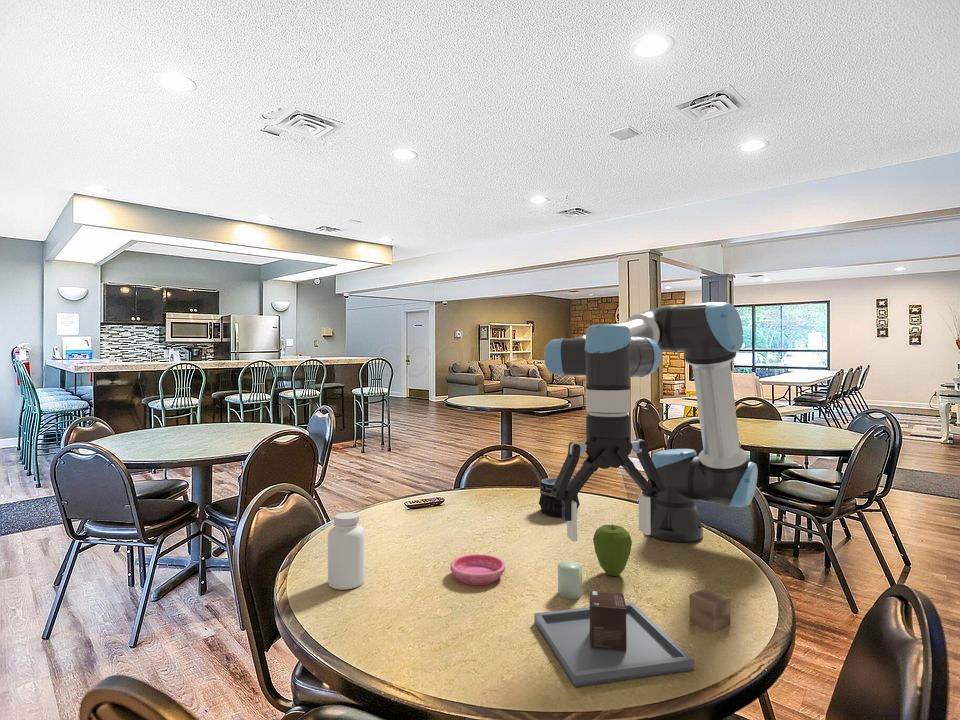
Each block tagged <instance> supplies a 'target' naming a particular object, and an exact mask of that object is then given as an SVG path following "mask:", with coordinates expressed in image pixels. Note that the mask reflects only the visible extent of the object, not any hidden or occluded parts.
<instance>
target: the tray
mask: <svg viewBox="0 0 960 720" xmlns="http://www.w3.org/2000/svg"><path fill="white" fill-rule="evenodd" d="M625 604H626V634H627V650H626V651H620V650H609V649H596V648H591V645H590V606H587V607H586V606H585V607H578V608H570V609H562V610H561V609H560V610H552V611H543V612H542V611H541V612H534V617H533V618H534V624H535V626H536V628H537V630H538V631H539V632H540V634H541V636H542V638H543V639H544V640H546V641H545V642H546V644H547V645H548V647H549V649H550V648H551V649H550V650H551V652H552V653H553V654H554V655H553V656H555V658H556V660H557V661H558V662H559V665H560V667H562V669H563V671H564V672H565V674H566V676H567V677H568V679H569V680H570V682H571V684H572V685H573V687H574V688H582V687H589V686H596V685H603V684H611V683H616V682H622V681H630V680H636V679H638V680H639V679H644V678H651V677H658V676H665V675H672V674H677V673H686V672H693V671H694V669H695V666H694V661H695V659H694V658H693V657H692V656H691V655H690V654H689V653H688V652H687V651H686V650H685V649H683V648H682V647H681V646H680V645H679V643H677V642H676V641H675V640H673V638H672V637H670V636H669V635H668V633H666V632H665V631H664V630H663V629H662V628H660V626H659V625H658V624H656V623H655V622H654V621H653V620H652V618H650V617H649V616H648V615H647V614H646V613H644V612H643V611H642V609H640V607H638V606H637V604H635V603H634V602H631V601H630V602H625Z"/></svg>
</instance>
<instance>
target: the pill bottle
mask: <svg viewBox="0 0 960 720" xmlns="http://www.w3.org/2000/svg"><path fill="white" fill-rule="evenodd" d="M359 522H360V515H359V513H356V512H346V511H345V512H340V513H338V514H335V515H334V517H333V527H332V528H331V529H329V531H328V533H327V583H328V585H329V587H330V588H331V589H334V590H351V589H355V588H357V587H361V586H362V585H363V584H364V582H365V579H366V558H365V557H366V543H365V542H366V541H365V540H366V538H365V537H366V536H365V535H366V534H365V533H366V532H365V529H364V528H363V526H361V525H359Z"/></svg>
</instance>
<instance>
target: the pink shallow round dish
mask: <svg viewBox="0 0 960 720" xmlns="http://www.w3.org/2000/svg"><path fill="white" fill-rule="evenodd" d="M449 567H450V571H451V573H452V574H453V576H455V577H456V579H457V580H458V581H459V582H461V583H463V584H465V585H471V586H484V585H485V586H487V585H490V584H493V583H495V582H497V581H498V579H499V578H500V577H501V576H502V575H503V573H504V572H505V571H506V563H505V561H504V560H503V559H502V558H499V557H498V556H495V555H489V554H481V553H473V554H467V555H462V556H459V557H456V558H455V559H453V560H452V561H451V563H450V566H449Z"/></svg>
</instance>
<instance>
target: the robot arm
mask: <svg viewBox="0 0 960 720" xmlns="http://www.w3.org/2000/svg"><path fill="white" fill-rule="evenodd" d="M743 335H744V328H743V323H742V319H741V317H740V314H739V312H738V310H737V308H736V307H735V306H734V305H733V304H731V303H729V302H722V301H721V302H715V301H710V302H699V303H697V302H696V303H685V304H669V305H662V306H660V307H655V308H653V309H649V310H646V311H643V312H640V313H637V314H633V315H632V316H630V317H629V318H627V319H626V321H625V322H622V323H618V324H617V323H615V324H614V323H613V324H612V323H611V324H610V323H609V324H606V323H605V324H593V325H590V326H588V327H587V329H586V331H585V334H583V335H579V336H575V337H571V338H565V337H561V338H554V339H551V340H550V341H548V343H547V344H546V346H545V348H544V351H543V352H544V353H543V358H544V365H545V368H546V369H547V370H548V372H549V373H551V374H552V375H559V376H564V377H566V376H585V380H586V381H585V382H586V383H585V410H586V411H587V412H588V414H587V415H586V417H585V435H586V440H585V443H576V442H574V441H570V442H569V443H568V449H567V455H566V457H565V460H564V462H563V464H562V467H561V469H560V471H559V473H558V475H557V477H556V478H557V480H556V482H555V484H554V486H553V488H552V491H551V495H552V496H554V497H555V498H556V499H558V500H561V501H562V517H561V518H562V519H563V520H564V521H565V522H566V537H568V539H569V540H571V542H578V509H577V503H576V502H575V501H573V499H574V498H575V496H576V495H577V494H578V495H579V493H580V491H581V490H582V489H583V487H584V486H585V484H587V482H588V480H589V479H590V477H592V475H593V474H594V473H595V472H597V470H598V469H599V468H600V469H602V470H604V469H609V468H613V469H619V468H620V467H621V468H623V470H624V471H625V472H626V473H627V474H628V475H629V477H630V478H631V479H632V480H633V482H634V483H635V484H636V485H637V486H638V487H639V488H640V490H641V491H642V493H638V531H640V532H641V533H643V534H644V535H646V536H651V537H652V538H655V539H659V540H663V541H668V542H673V543H674V542H675V543H676V542H677V543H689V542H697V541H699V540H702V539H703V538H704V537H703V536H704V528H703V525H702V522H701V518H700V516H699V511H698V509H697V501H701V502H707V503H713V504H718V505H725V506H729V507H737V508H747V507H749V505H751V502H752V500H753V498H754V495H755V492H756V489H757V482H758V474H759V473H758V471H759V470H758V465H757V463H755V462H753V461H749V458H748V454H747V452H746V450H744V449H742V448H741V445H740V439H739V438H740V436H739V429H738V421H737V420H738V419H737V412H736V411H737V409H736V402H735V394H734V393H735V392H734V385H733V375H732V367H731V362H732V361H733V360H734V359H735V358H736V357H737V352H738V351H740V350H741V348H742V347H743V343H744V338H743ZM662 352H675V353H677V352H678V353H679V352H680V353H681V352H683V355H684V362H685V363H687V364H688V365H690V366H692V367H691V368H692V373H693V381H694V388H695V394H696V403H697V411H698V418H699V426H700V432H701V433H700V434H701V440H702V448H703V449H702V450H701V451H700V453H699V454H698V455H697V452H696V450H695V449H691V448H675V449H674V448H672V449H670V448H669V449H666V450H665V449H663V450H659V451H656V452H655V453H653V454H652V456H651V454H650V453H649V444H648V442H647V441H646V440H645V439H641V438H636V439H635V440H633V441H631V435H632V434H631V431H632V430H631V425H632V424H631V416H630V415H629V414H628V413H631V406H632V405H631V378H637V377H638V378H643V377H645V376H648V375H651V374H653V373H655V372H656V371H657V370H658V368H659V367H660V364H661V361H662ZM631 451H633V452H634V453H636V456H637V459H638V460H639V464H641V467H642V469H643V471H644V473H645V475H646V477H647V479H648V481H647V479H646V478H645V477H644V475H643V474H642V473H641V472H640V471H639V469H638V468H637V467H636V465H635V463H634V462H633V461H632V459H630V458H629V455H630V454H631ZM584 452H585V453H586V455H587V456H586V458H585V459H584V460H583V462H582V466H581V467H580V468H579V470H578V471H577V472H576V473H575V469H576V468H577V466H578V464H579V460H580V457H582V456H583V454H584ZM574 473H575V475H574ZM573 475H574V476H573ZM570 479H572V480H571V482H570V483H569V481H570ZM568 483H569V484H568Z"/></svg>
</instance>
